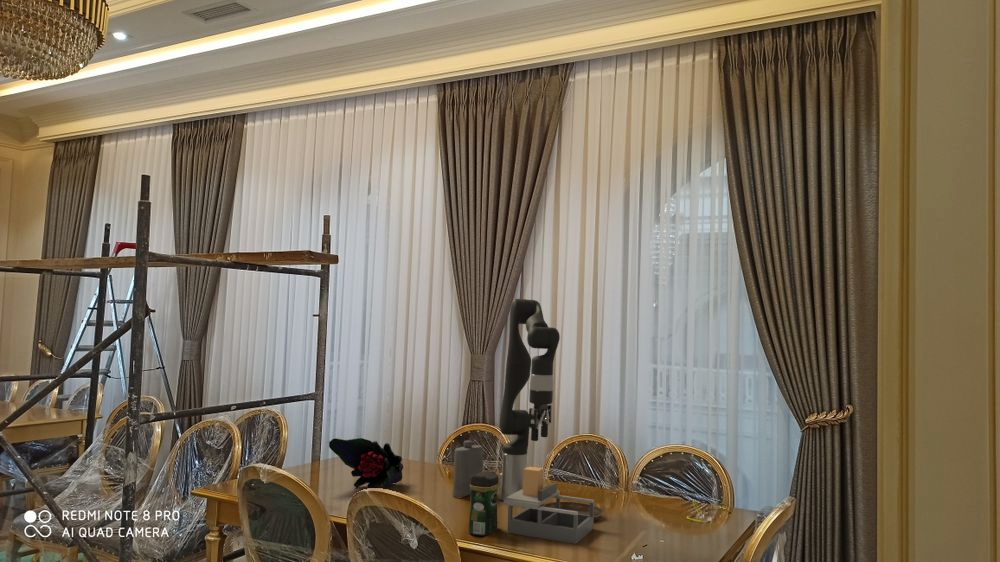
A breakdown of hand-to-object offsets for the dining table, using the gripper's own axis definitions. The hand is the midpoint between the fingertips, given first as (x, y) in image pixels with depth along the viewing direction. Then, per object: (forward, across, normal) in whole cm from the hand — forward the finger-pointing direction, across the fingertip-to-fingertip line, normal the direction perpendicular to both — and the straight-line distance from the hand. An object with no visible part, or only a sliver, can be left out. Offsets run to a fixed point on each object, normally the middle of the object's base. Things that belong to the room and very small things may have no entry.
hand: (539, 438), depth 225 cm
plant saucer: (+29, -18, +6) cm, 35 cm away
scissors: (+29, -48, +46) cm, 73 cm away
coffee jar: (+28, +14, -12) cm, 34 cm away
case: (+28, +4, +6) cm, 29 cm away
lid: (+19, +4, 0) cm, 19 cm away
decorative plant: (+30, -16, -75) cm, 82 cm away
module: (+17, +4, 0) cm, 17 cm away
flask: (+29, -28, -40) cm, 57 cm away
